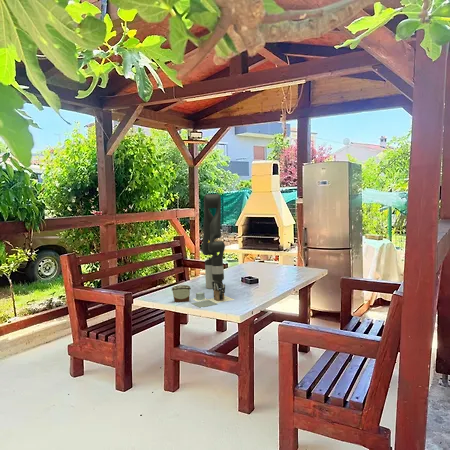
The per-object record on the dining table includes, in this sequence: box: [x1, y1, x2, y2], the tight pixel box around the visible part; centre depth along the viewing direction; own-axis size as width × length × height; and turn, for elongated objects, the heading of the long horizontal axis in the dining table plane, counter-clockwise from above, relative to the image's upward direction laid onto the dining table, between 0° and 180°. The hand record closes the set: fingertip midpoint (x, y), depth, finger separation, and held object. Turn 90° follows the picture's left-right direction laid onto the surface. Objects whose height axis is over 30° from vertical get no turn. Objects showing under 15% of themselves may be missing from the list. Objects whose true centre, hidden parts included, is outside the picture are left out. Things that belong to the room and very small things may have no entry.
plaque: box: [192, 297, 208, 302], centre depth 250 cm, size 8×8×1 cm
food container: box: [171, 284, 191, 303], centre depth 248 cm, size 12×6×10 cm, turn 92°
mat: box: [191, 300, 219, 309], centre depth 238 cm, size 12×12×1 cm
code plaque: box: [204, 295, 235, 304], centre depth 246 cm, size 12×16×1 cm
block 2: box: [212, 289, 225, 301], centre depth 246 cm, size 5×5×6 cm
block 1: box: [195, 291, 206, 300], centre depth 250 cm, size 4×4×4 cm
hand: (219, 298), depth 246 cm, fingers closed on block 2, 5 cm apart
